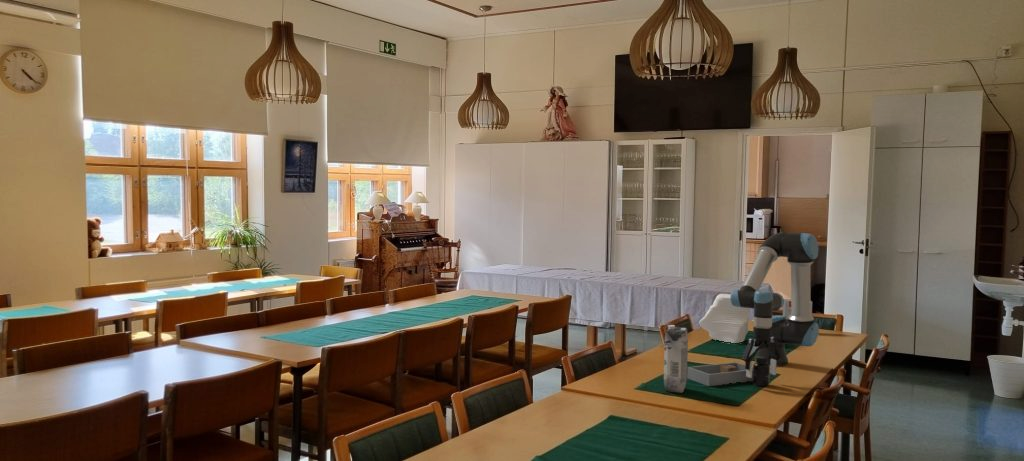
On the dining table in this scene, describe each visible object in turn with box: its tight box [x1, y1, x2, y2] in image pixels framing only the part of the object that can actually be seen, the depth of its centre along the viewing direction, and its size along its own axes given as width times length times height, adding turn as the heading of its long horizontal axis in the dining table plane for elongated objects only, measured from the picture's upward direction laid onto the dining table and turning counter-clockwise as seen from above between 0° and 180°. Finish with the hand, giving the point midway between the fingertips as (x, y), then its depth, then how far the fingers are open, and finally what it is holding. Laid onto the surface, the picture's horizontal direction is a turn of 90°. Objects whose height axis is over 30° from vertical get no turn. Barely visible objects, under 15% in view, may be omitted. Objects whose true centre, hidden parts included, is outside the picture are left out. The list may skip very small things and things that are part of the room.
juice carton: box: [663, 324, 689, 394], centre depth 301 cm, size 9×10×27 cm
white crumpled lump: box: [698, 293, 751, 343], centre depth 411 cm, size 21×27×26 cm
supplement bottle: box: [752, 356, 771, 388], centre depth 311 cm, size 7×7×12 cm
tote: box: [687, 361, 753, 387], centre depth 320 cm, size 28×15×5 cm, turn 114°
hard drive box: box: [782, 298, 813, 320], centre depth 437 cm, size 16×8×20 cm, turn 81°
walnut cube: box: [720, 365, 737, 373], centre depth 322 cm, size 5×5×5 cm
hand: (761, 375), depth 311 cm, fingers open, 13 cm apart
